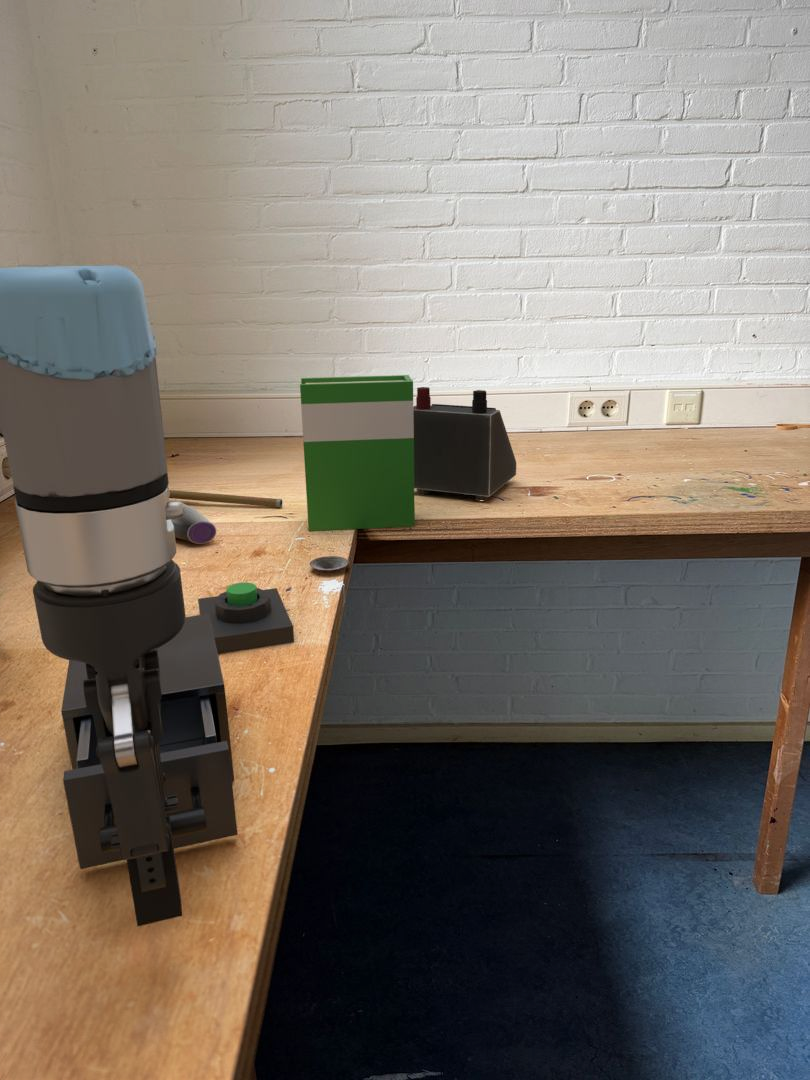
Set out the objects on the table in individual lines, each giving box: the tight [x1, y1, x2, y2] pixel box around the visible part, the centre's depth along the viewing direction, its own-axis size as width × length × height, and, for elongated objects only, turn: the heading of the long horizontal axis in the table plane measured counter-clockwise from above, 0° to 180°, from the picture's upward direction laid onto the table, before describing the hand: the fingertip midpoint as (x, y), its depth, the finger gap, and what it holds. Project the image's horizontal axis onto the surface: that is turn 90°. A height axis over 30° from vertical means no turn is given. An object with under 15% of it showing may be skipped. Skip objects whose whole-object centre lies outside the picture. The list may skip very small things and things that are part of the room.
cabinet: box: [60, 614, 235, 782], centre depth 72 cm, size 15×13×10 cm
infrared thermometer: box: [171, 502, 217, 545], centre depth 126 cm, size 5×12×15 cm
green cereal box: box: [299, 374, 416, 532], centre depth 132 cm, size 18×7×24 cm, turn 95°
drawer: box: [62, 695, 238, 870], centre depth 63 cm, size 18×11×8 cm, turn 18°
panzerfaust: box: [169, 489, 283, 509], centre depth 147 cm, size 5×35×5 cm
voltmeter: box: [413, 386, 517, 501], centre depth 151 cm, size 16×16×20 cm
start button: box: [225, 581, 258, 606], centre depth 96 cm, size 4×4×2 cm
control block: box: [197, 587, 295, 655], centre depth 97 cm, size 12×10×4 cm
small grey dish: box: [309, 555, 350, 573], centre depth 115 cm, size 6×6×1 cm
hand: (159, 912), depth 51 cm, fingers closed
